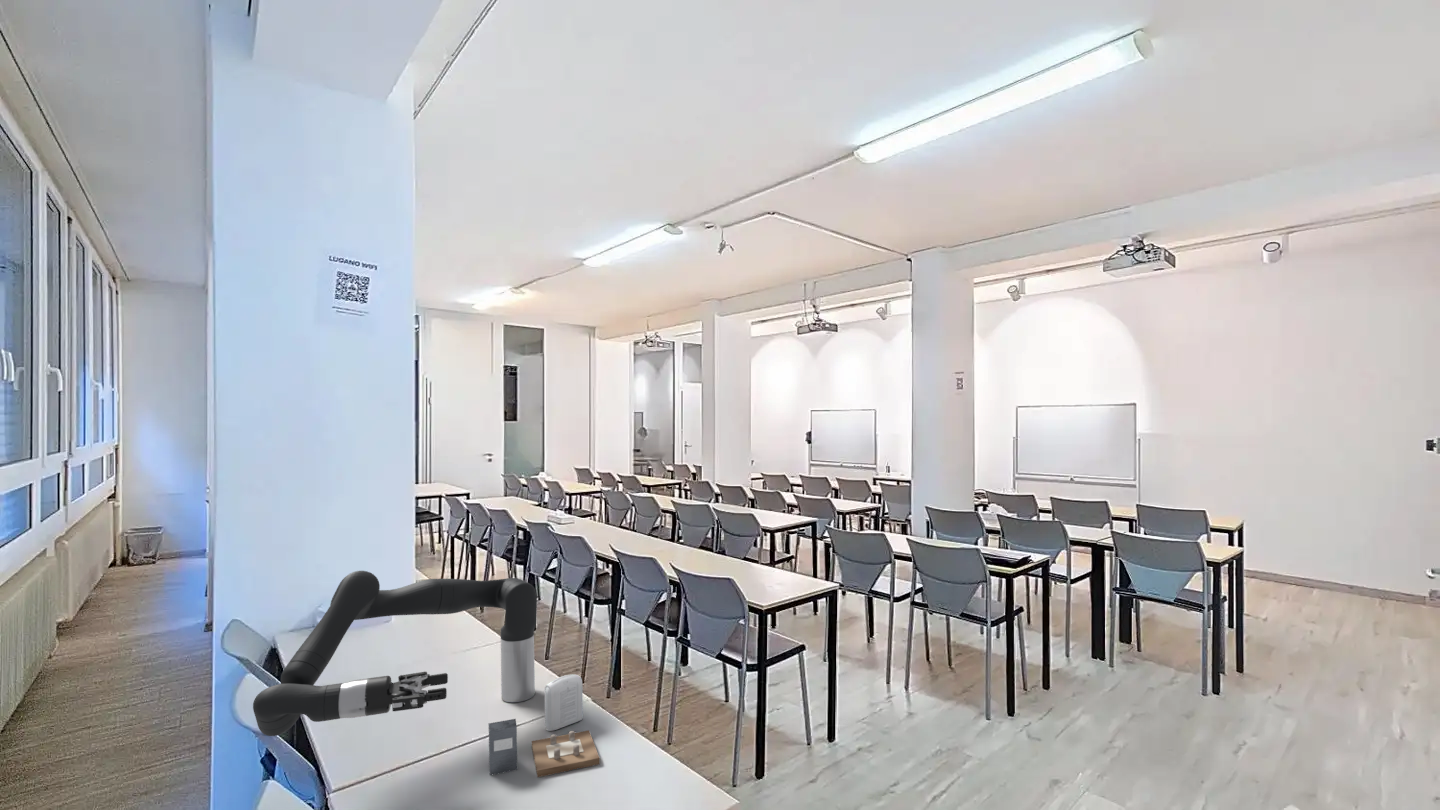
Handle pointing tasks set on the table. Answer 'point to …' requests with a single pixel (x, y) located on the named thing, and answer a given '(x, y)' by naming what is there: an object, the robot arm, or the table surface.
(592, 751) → the pin tray
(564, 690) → the photo printer
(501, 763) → the block
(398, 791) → the table surface
